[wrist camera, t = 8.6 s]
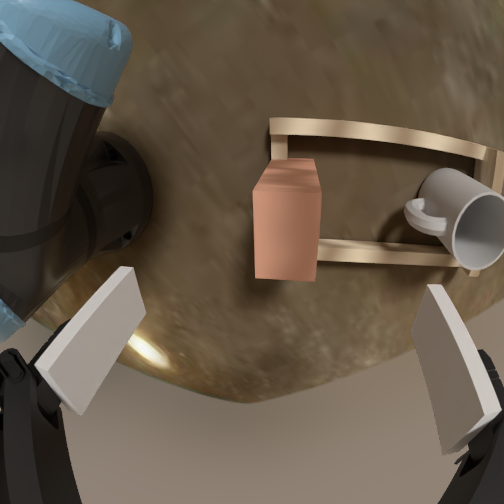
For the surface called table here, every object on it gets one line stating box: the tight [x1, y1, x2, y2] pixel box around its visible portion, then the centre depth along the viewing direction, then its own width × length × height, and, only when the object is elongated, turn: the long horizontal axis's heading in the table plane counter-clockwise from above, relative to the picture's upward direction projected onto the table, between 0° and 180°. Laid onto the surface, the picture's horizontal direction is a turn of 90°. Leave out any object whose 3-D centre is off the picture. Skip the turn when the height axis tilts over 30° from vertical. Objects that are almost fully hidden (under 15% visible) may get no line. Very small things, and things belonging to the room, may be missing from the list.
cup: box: [403, 168, 504, 270], centre depth 22 cm, size 7×10×9 cm
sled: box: [253, 118, 504, 281], centre depth 21 cm, size 24×14×12 cm, turn 92°
